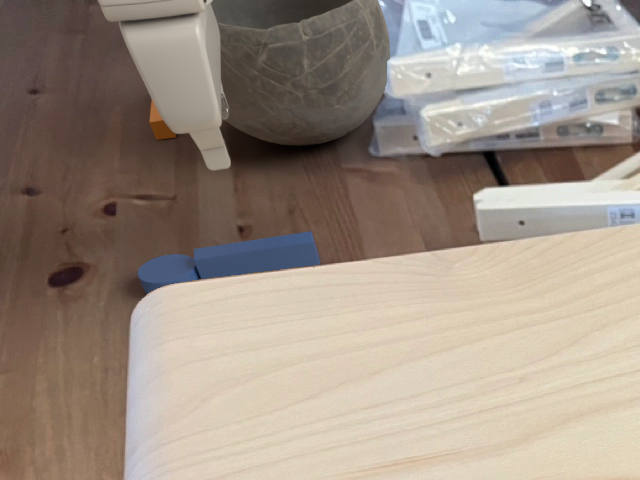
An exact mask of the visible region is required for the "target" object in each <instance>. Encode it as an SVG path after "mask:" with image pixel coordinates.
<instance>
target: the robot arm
mask: <svg viewBox="0 0 640 480" xmlns="http://www.w3.org/2000/svg"><path fill="white" fill-rule="evenodd" d="M212 1H213V0H97V2H98V4H99V7H100V9H101V12H102V14H103V16H104V18H105V20H107V22H110V23H117V22H118V26H119V31H120V32H121V33H120V34H121V35H122V38H123V40H124V44H125V45H126V48H127V50H128V52H129V54H130V56H131V58H132V61H133V63H134V65H135V67H136V69H137V72H138V73H139V75H140V77H141V79H142V81H143V83H144V86H145V87H146V90H147V92H148V94H149V96H150V98H151V101H152V100H153V102H154V104H155V106H156V108H157V110H158V112H159V114H160V116H161V117H162V119H163V120H164V122H165V123H166V125H167V126H168V127H169V128H170V130H171V131H172V132H174V133H176V135H185V134H189V135H190V137H191V140H192V141H193V142H194V143H195V145H196V146H197V148H198V149H199V151H200V154H201V156H202V159H203V161H204V164H205V166H206V168H207V169H208V170H210V171H221V170H226V169H229V168H230V167H231V161H232V160H231V154H230V151H229V148H228V146H227V143H226V140H225V138H223V137H224V136H223V134H222V130H221V129H220V128H221V126H222V123H223V121H225V120H226V119H228V117H229V106H228V103H227V100H226V97H225V95H224V92H223V87H222V82H221V54H220V32H219V27H218V24H217V20H216V17H215V14H214V12H213V9H212V6H211V2H212Z"/></svg>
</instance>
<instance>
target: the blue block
mask: <svg viewBox="0 0 640 480" xmlns="http://www.w3.org/2000/svg"><path fill="white" fill-rule="evenodd" d="M315 241H316V240H315V237H314V234H313V232H312V231H311V230H310V231H304V232H303V231H302V232H297V233H290V234H284V235H283V234H282V235H277V236H271V237H265V238H264V237H263V238H258V239H251V240H244V241H237V242H231V243H225V244H224V243H223V244H218V245H211V246H203V247H198V248H197V247H196V248H194V249H193V257H192V256H190V255H188V254H187V255H186V254H181V253H173V254H165V255H161V256H157V257H154V258H152V259H149V260H148V261H146V262H144V263H143V264H142V265H141V266H140V267H139V268H138V270H137V272H136V273H137V274H136V275H137V278H138V280H139V282H140V284H141V287H142V289H143V291H144V293H145V294H146V295H147V293H149V292H151V291H153V290H155V289H157V288H160V287H162V286H165V285H169V284H174V283H180V282H186V281H192V280H199V279H207V278H213V277H223V276H231V275H241V274H247V273H254V272H263V271H273V270H280V269H287V268H293V267H303V266H313V265H319V264H320V265H321V259H320V254H319V251H318V247H317V245H316V242H315Z"/></svg>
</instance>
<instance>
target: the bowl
mask: <svg viewBox="0 0 640 480" xmlns="http://www.w3.org/2000/svg"><path fill="white" fill-rule="evenodd" d="M211 6H212V9H213V12H214V14H215V17H216V20H217V24H218V27H219V32H220V54H221V82H222V87H223V92H224V95H225V97H226V100H227V103H228V106H229V117H228V119H226V120H224V121H225V122H226V123H228V124H229V125H230V126H232V127H234V128H235V129H237V130H239V131H240V132H243V133H245V134H246V135H249V136H250V137H254V138H256V139H258V140H261V141H264V142H267V143H273V144H277V145H285V146H312V145H313V146H314V145H320V144H321V145H322V144H326V143H330V142H331V141H334V140H337V139H340V138H342V137H344V136H346V135H347V134H349V133H351V132H352V131H354V130H355V129H356V128H358V127H359V126H361V125H362V124H363V123H365V121H366V120H367V119H368V118H369V117H370V116H371V114H372V113H373V112H374V110H375V109H376V108H377V106H378V104H379V102H380V101H381V99H382V97H383V95H384V93H385V91H386V88H387V84H388V79H387V61H388V60H389V59H390V60H391V43H390V35H389V30H388V26H387V21H386V19H385V16H384V12H383V10H382V9H383V8H382V7H381V4H380V2H379V0H213V1H212V2H211ZM385 87H386V88H385Z"/></svg>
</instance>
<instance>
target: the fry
mask: <svg viewBox="0 0 640 480" xmlns="http://www.w3.org/2000/svg"><path fill="white" fill-rule="evenodd" d="M149 112H150V113H149V126H150V127H151V130H152V132H153V133H152V134H153V135H154V138H155V140H156V141H160V140H167V139H168V140H169V139H175V138H177V134H176V133H174V132H172V131H171V130H170V128H169V127H168V126H167V125H166V123H165V122H164V120H163V119H162V117H161V116H160V114H159V112H158V110H157V108H156V106H155V104H154V102H153V100H152V99H151V102H150V111H149Z"/></svg>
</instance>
